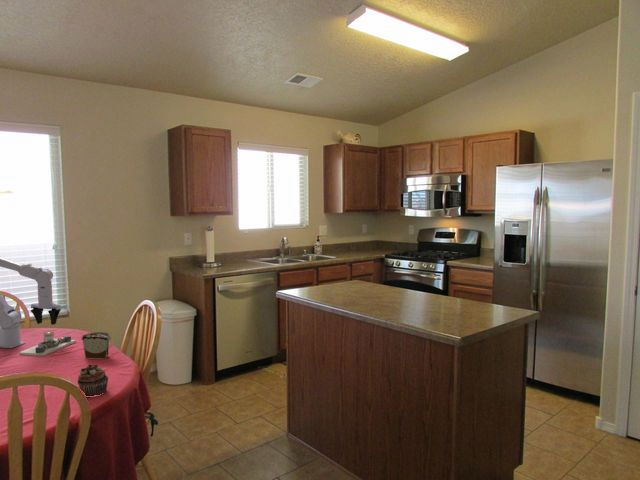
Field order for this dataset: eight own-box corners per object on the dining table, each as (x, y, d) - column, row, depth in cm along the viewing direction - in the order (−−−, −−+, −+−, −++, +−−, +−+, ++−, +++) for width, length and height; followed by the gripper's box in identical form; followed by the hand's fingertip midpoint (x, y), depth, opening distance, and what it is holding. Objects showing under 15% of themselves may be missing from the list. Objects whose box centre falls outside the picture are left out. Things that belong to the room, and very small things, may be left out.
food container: (117, 354, 197) (116, 332, 196) (109, 359, 191) (108, 336, 190) (90, 353, 198) (89, 331, 198) (82, 358, 192) (81, 335, 191)
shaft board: (19, 354, 196) (18, 348, 196) (54, 340, 216) (53, 335, 216) (42, 356, 194) (42, 350, 194) (76, 342, 214) (75, 337, 214)
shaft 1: (42, 353, 196) (42, 347, 196) (35, 353, 195) (35, 347, 195) (47, 349, 201) (47, 344, 201) (40, 350, 200) (40, 344, 200)
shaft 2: (67, 340, 214) (67, 335, 214) (71, 341, 213) (70, 336, 212) (57, 343, 210) (56, 337, 210) (60, 344, 208) (60, 338, 208)
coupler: (41, 346, 203) (41, 334, 203) (48, 344, 208) (47, 331, 207) (50, 347, 203) (49, 334, 203) (56, 344, 207) (55, 331, 207)
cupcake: (103, 398, 153) (101, 370, 152) (73, 399, 152) (72, 371, 151) (113, 387, 163) (112, 360, 162) (85, 388, 162) (84, 361, 161)
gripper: (65, 294, 213) (66, 322, 214) (38, 293, 215) (40, 320, 217) (53, 297, 206) (55, 326, 207) (26, 296, 208) (28, 324, 210)
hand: (46, 323), depth 211 cm, fingers open, 7 cm apart
